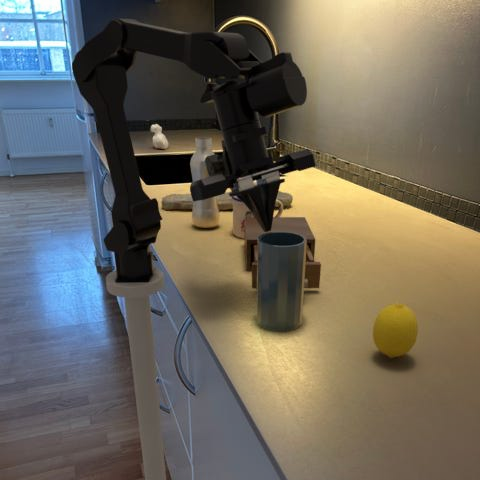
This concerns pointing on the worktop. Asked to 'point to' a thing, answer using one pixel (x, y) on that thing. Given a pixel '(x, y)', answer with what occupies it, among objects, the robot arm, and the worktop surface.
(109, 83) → the robot arm
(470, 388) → the worktop surface
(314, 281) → the drawer
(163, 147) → the bust
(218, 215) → the plastic bottle
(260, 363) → the worktop surface
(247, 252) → the cabinet
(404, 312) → the lemon
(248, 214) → the teacup with lid
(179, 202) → the elongated rock
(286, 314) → the tumbler
